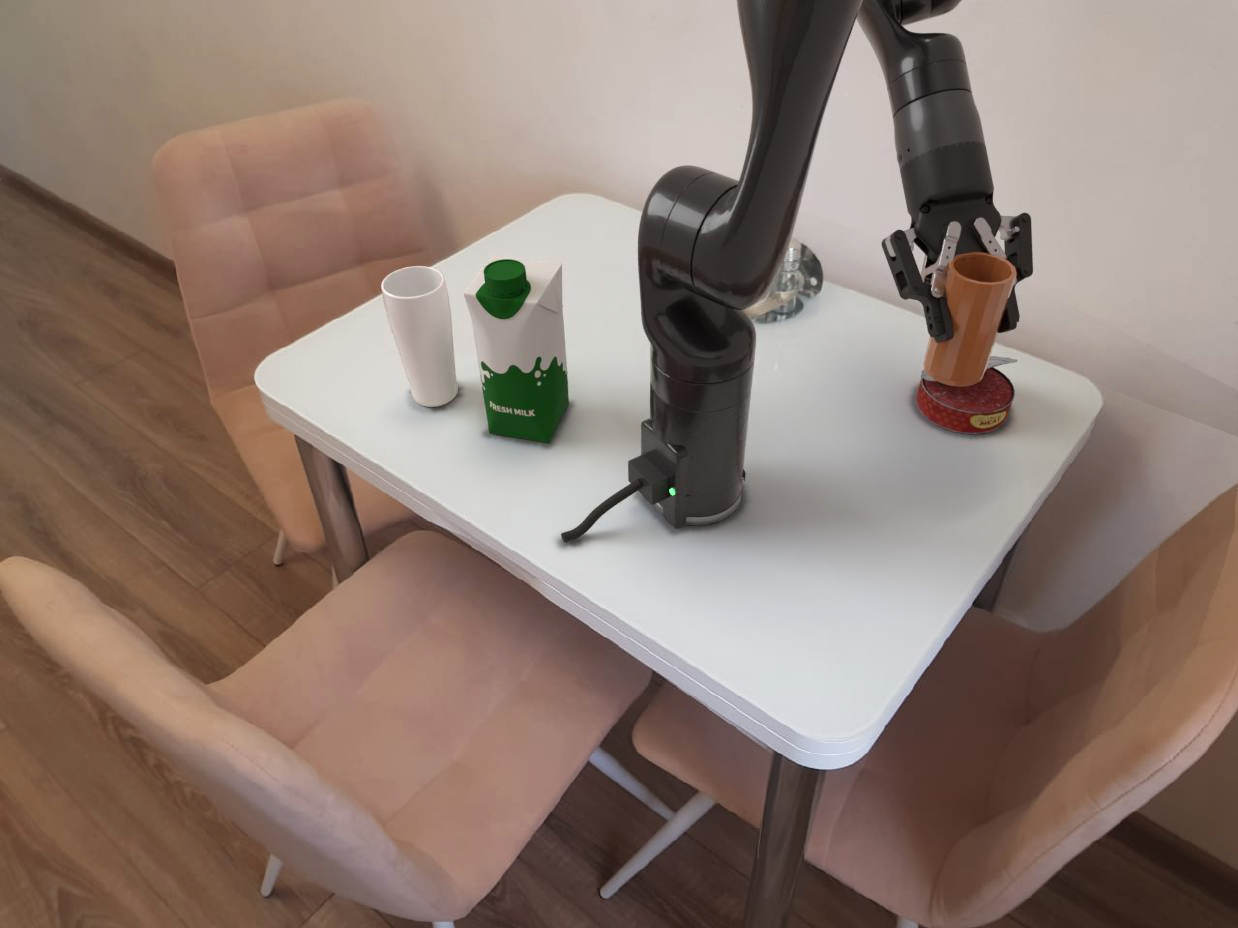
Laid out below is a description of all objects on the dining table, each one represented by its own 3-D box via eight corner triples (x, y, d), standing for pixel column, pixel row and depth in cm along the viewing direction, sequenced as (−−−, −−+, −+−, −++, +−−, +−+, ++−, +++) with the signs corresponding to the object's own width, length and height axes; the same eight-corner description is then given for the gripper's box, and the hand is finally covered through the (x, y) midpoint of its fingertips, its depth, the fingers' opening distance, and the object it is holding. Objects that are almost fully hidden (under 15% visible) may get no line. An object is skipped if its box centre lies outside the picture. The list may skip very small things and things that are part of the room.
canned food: (923, 456, 100) (895, 392, 94) (932, 396, 106) (906, 332, 101) (1031, 441, 93) (1008, 372, 88) (1034, 378, 99) (1012, 310, 94)
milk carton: (478, 437, 97) (451, 276, 83) (508, 388, 103) (487, 231, 90) (554, 450, 95) (539, 287, 81) (579, 400, 101) (569, 241, 88)
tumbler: (956, 394, 82) (987, 291, 75) (910, 364, 86) (935, 263, 78) (996, 373, 84) (1030, 271, 77) (950, 345, 88) (978, 245, 80)
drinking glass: (402, 383, 104) (376, 271, 94) (459, 372, 105) (440, 260, 95) (410, 418, 99) (383, 303, 89) (469, 406, 101) (450, 291, 91)
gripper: (887, 148, 76) (924, 339, 76) (1037, 129, 78) (1074, 315, 78) (851, 180, 83) (885, 355, 83) (989, 163, 86) (1022, 333, 85)
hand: (976, 335), depth 80 cm, fingers closed on tumbler, 5 cm apart
